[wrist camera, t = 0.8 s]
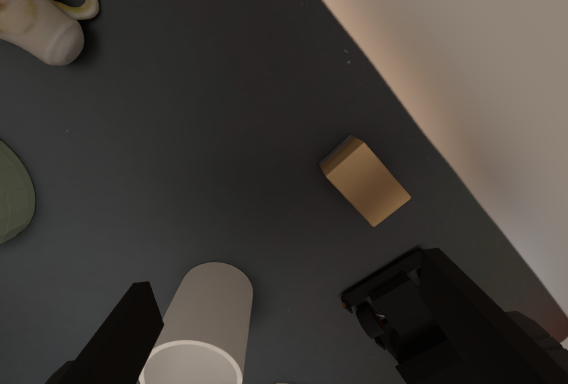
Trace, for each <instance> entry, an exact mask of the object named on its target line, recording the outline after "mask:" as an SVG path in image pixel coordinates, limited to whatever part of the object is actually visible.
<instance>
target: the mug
mask: <svg viewBox="0 0 568 384" xmlns="http://www.w3.org/2000/svg"><path fill="white" fill-rule="evenodd" d="M98 12H99V2H98V0H85V3H84V4H83V5H82V6H80V7H70V6H68V5H66V4H63V3H60V2H57V1H54V0H0V39H2V40H5V41H8V42H10V43H13V44H15V45H17V46H19V47H21V48H23V49H24V50H26V51H28V52H29V53H31V54H33V55H34V56H36V57H37V58H39V59H40V60H42V61H43V62H44V63H46V64H48V65H60V66H61V65H66V64H69V63H71V62H72V61H73V60H74V59H76V58H77V56H78V55H79V54H80V52H81V51H82V49H83V45H84V35H83V32H82V29H81V26H80V24H79V23H78V21H77V20H84V19H90V18H93V17H95V16H96V14H98Z"/></svg>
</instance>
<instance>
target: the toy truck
mask: <svg viewBox="0 0 568 384" xmlns="http://www.w3.org/2000/svg"><path fill="white" fill-rule="evenodd" d="M421 258H422V249H421V248H420V249H418V250H417V251H415V252H414V253H412V254H410V255H409V256H407V257H405V258H404V259H402V260H400V261H399V262H397V263H396V264H394V265H392V266H391V267H389V268H387V269H386V270H384V271H383V272H381V273H379V274H378V275H376V276H374V277H373V278H371V279H369V280H368V281H366V282H365V283H363V284H361V285H360V286H358V287H356V288H355V289H353V290H351V291H350V292H348V293H347V294H345V295H343V296H342V297H341V300H342V303H343V306H344V308H345V309H347V310H348V311H349V312H350V313H353V311H352V308H351V307H352V306H354V305H355V304H357V303H359V302H360V301H362V300H364V299H365V298H367V297H369V296H370V298H371V301H372V303H373V304H374V305H375V306H376V307H377V308H378V311H380V312H381V313H382V315H380V314H377V313H378V311H377V313H376V312H375V311H374V309H373V308H372V307H371V306H370V305H369V304H366V305H365V306H363V307H361V308H360V309H358V310H356V315H357V318H358V320H359V322H360V324H361V326H362V328H363V329H364V331H365V332H366V334H367V335H368V336H369V337H370V338H372V339H373V338H374V339H375V341H376V344H377V345H379V346H380V347H381V348H383V349H384V350H385V349H387V350H388V351H389V352H390V353H391V354H392V355H393V357H394V358H395V359H396V360H397V361H398V363H399V365H397V366H396V369H397V370H398V372H399V373H400V374H401V376H402V377H403V379H404V380H405V382H406V383H407V384H479V382H478V381H477V379H476V378H475V376H474V375H473V373H472V372H471V371H470V369H469V368H468V366H467V365H466V363H465V362H464V360H463V359H462V358H461V356H460V355H459V353H458V352H457V350H456V349H455V347H454V346H453V345H452V343H451V342H450V340H449V339H448V337H447V336H446V334H445V333H444V332H443V330H442V329H441V327H440V326H439V324H438V323H437V321H436V320H435V319H434V317H433V316H432V314H431V313H430V311H429V310H428V308H427V307H426V306H425V304H424V303H423V301H422V300H421V298H420V297H419V293H420V292H419V291H418V289H417V287H415V285H414V284H413V283H412V281H411V280H410V279H409V277H408V276H407V275H406V274H407V273H409V272H410V271H412V270H414V269H415V268H417V267H419V266H421ZM418 276H419V278H420V276H421V272H420V273H419V274H418ZM419 287H420V286H419ZM378 315H380V316H383V317H385V318H386V320H388V322H386V323H384V324H382V322H381V321H383V320H380V318H381V317H380V318H379V317H378Z"/></svg>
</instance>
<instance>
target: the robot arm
mask: <svg viewBox="0 0 568 384" xmlns="http://www.w3.org/2000/svg"><path fill="white" fill-rule="evenodd" d="M419 297H420V298H421V300H422V301H423V303H424V304H425V306H426V307H427V308H428V310H429V311H430V313H431V314H432V316H433V317H434V319H435V320H436V321H437V323H438V324H439V326H440V327H441V329H442V330H443V332H444V333H445V334H446V336H447V337H448V339H449V340H450V342H451V343H452V345H453V346H454V347H455V349H456V350H457V352H458V353H459V355H460V356H461V358H462V359H463V360H464V362H465V363H466V365H467V366H468V368H469V369H470V371H471V372H472V373H473V375H474V376H475V378H476V379H477V381H478V382H479V384H568V350H566V349H564V348H563V347H562V345H561V344H560V343H559V342H558V341H557V340H555V339H554V338H553V337H551V336H550V334H549V333H548V332H546V331H545V330H544V329H543V328H542V327H541V326H540V325H539V324H537V323H536V322H535V321H534V320H532V319H530V318H528V317H527V316H525V315H523V314H521V313H520V312H518V311H512V312H504V311H503V310H502V309H501V308H500V307H499V306H498V305H497V304H496V303H495V302H494V301H493V300H492V299H491V298H490V297H489V296H488V295H487V294H486V293H485V292H483V291H482V290H481V289H480V288H479V287H478V286H477V285H476V284H475V283H474V282H473V281H472V280H471V279H470V278H469V277H468V276H467V275H466V274H465V273H464V272H463V271H462V270H461V269H460V268H459V267H458V266H457V265H456V264H455V263H453V262H452V261H451V260H450V259H449V258H448V257H447V256H446V255H445V254H444V253H443V252H442V251H441V250H440V249H439V248H432V249H424V250H422V258H421V276H420V293H419ZM163 327H164V323H163V320H162V317H161V314H160V311H159V308H158V305H157V303H156V300H155V297H154V294H153V291H152V288H151V286H150V283H149V281H147V282H139V283H133V284H132V286H131V287H130V288H129V290H128V291H127V292H126V294H125V295H124V296H123V298H122V299H121V300H120V301H119V303H118V304H117V305H116V307H115V308H114V309H113V311H112V312H111V313H110V315H109V316H108V317H107V319H106V320H105V321H104V323H103V324H102V325H101V326H100V328H99V329H98V330H97V332H96V333H95V334H94V336H93V337H92V338H91V340H90V341H89V342H88V344H87V345H86V346H85V348H84V349H83V350H82V351H81V353H80V354H79V355H78V357H77V358H76V359H75V360H74V361H67V362H66V363H65V364H64V365H63V366H62V367H61V368H59V369H58V370H57V371H56V372H55V373H54V374H52V375H51V377H50V378H49V379H48V380H47V382H46V383H45V384H136V382H137V380H138V378H139V376H140V374H141V372H142V370H143V368H144V366H145V364H146V362H147V360H148V358H149V356H150V354H151V352H152V349H153V347H154V345H155V343H156V341H157V339H158V337H159V335H160V333H161V331H162V329H163Z"/></svg>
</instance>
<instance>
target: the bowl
mask: <svg viewBox="0 0 568 384" xmlns="http://www.w3.org/2000/svg"><path fill="white" fill-rule="evenodd" d="M35 202H36V201H35V192H34V187H33V184H32V181H31V178H30V176H29V174H28V172H27V170H26V168H25V167H24V165H23V164H22V162H21V161H20V159H19V158H18V157H17V156H16V154H15V153H14V152H13V151H12V150H11V149H10V148H9V147H8V146H7V145H6V144H5V143H3V142H2V141H1V140H0V244H2V243H4V242H6V241H8V240H10V239H11V238H13V237H15V236H17V235H18V234H19V233H21V232H22V231H23V230H24V229H25V228H26V227H27V226H28V224H29V223H30V221H31V219H32V217H33V214H34V210H35Z"/></svg>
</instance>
